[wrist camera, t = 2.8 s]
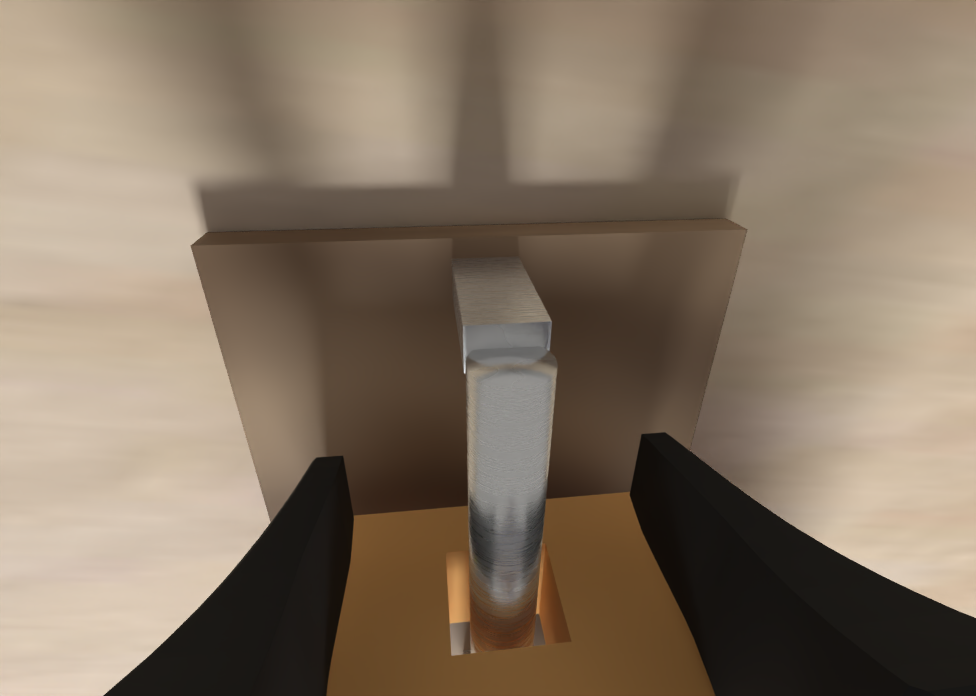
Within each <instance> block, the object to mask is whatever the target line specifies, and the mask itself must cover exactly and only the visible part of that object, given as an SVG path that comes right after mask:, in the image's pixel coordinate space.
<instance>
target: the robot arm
mask: <svg viewBox="0 0 976 696" xmlns="http://www.w3.org/2000/svg"><path fill="white" fill-rule="evenodd" d="M630 498H631V501H632V504H633V507H634V510H635V513H636V516H637V519H638V522H639V524H640V527H641V530H642V533H643V535H644V537H645V539H646V541H647V543H648V545H649V547H650V549H651V552H652V554H653V556H654V558H655V560H656V562H657V564H658V566H659V568H660V570H661V572H662V574H663V576H664V578H665V580H666V582H667V584H668V586H669V588H670V590H671V592H672V594H673V596H674V598H675V600H676V602H677V604H678V606H679V608H680V610H681V612H682V614H683V616H684V618H685V620H686V622H687V625H688V627H689V629H690V631H691V634H692V636H693V638H694V640H695V643H696V646H697V648H698V651H699V653H700V656H701V659H702V661H703V664H704V666H705V669H706V672H707V674H708V677H709V679H710V682H711V685H712V688H713V690H714V693H715V696H976V618H974V617H972V616H969V615H967V614H964V613H961V612H959V611H957V610H954V609H952V608H950V607H947V606H945V605H943V604H941V603H939V602H936V601H934V600H932V599H930V598H927V597H925V596H923V595H921V594H919V593H916V592H914V591H912V590H910V589H908V588H906V587H904V586H902V585H899V584H897V583H895V582H893V581H891V580H889V579H887V578H885V577H883V576H881V575H879V574H877V573H875V572H873V571H871V570H870V569H868V568H866V567H864V566H862V565H860V564H858V563H856V562H854V561H852V560H850V559H848V558H847V557H845V556H843V555H841V554H839V553H838V552H836V551H834V550H832V549H830V548H829V547H827V546H825V545H824V544H822V543H820V542H819V541H817V540H815V539H814V538H812V537H810V536H809V535H807V534H805V533H804V532H802V531H800V530H799V529H797V528H795V527H794V526H792V525H791V524H789V523H788V522H786V521H784V520H783V519H781V518H780V517H778V516H777V515H776V514H774V513H773V512H771V511H770V510H768V509H767V508H765V507H764V506H762V505H761V504H759V503H758V502H757V501H755V500H754V499H752V498H751V497H750V496H748V495H747V494H745V493H744V492H743V491H741V490H740V489H739V488H737V487H736V486H734V485H733V484H732V483H730V482H729V481H728V480H727V479H725V478H724V477H723V476H721V475H720V474H719V473H717V472H716V471H715V470H713V469H712V468H711V467H710V466H708V465H707V464H706V463H704V462H703V461H702V460H701V459H699V458H698V457H697V456H696V455H694V454H693V453H692V452H690V451H689V450H688V449H687V448H685V447H684V446H683V445H682V444H680V443H679V442H678V441H676V440H675V439H674V438H672V437H671V436H670V435H668V434H667V433H666V432H661V433H647V434H641V439H640V444H639V449H638V454H637V459H636V464H635V469H634V474H633V479H632V484H631V490H630ZM353 526H354V515H353V509H352V503H351V497H350V492H349V486H348V480H347V474H346V468H345V463H344V457H343V456H329V457H316V458H315V459H314V460H313V461H312V463H311V464H310V466H309V467H308V469H307V471H306V472H305V474H304V475H303V477H302V478H301V480H300V481H299V483H298V485H297V486H296V488H295V489H294V491H293V492H292V493H291V495H290V496H289V498H288V499H287V501H286V502H285V504H284V505H283V506H282V508H281V509H280V511H279V512H278V513H277V515H276V516H275V517H274V519H273V520H272V522H271V523H270V524H269V526H268V527H267V528H266V530H265V531H264V532H263V534H262V535H261V536H260V538H259V539H258V540H257V541H256V542H255V544H254V545H253V546H252V547H251V549H250V550H249V551H248V552H247V554H246V555H245V556H244V557H243V559H242V560H241V561H240V562H239V564H238V565H237V566H236V567H235V568H234V569H233V571H232V572H231V573H230V574H229V575H228V576H227V578H226V579H225V580H224V581H223V582H222V583H221V584H220V585H219V587H218V588H217V589H216V590H215V591H214V592H213V593H212V594H211V595H210V596H209V597H208V598H207V599H206V601H205V602H204V603H203V604H202V605H201V606H200V607H199V608H198V609H197V610H196V611H195V612H194V613H193V614H192V615H191V616H190V617H189V618H188V619H187V620H186V621H185V622H184V623H183V624H182V625H181V626H180V627H179V628H178V629H177V630H176V631H175V632H174V633H173V634H172V635H171V636H170V637H169V638H168V639H167V640H166V641H165V642H163V643H162V644H161V645H160V646H159V647H158V648H157V649H156V650H155V651H154V652H153V653H152V654H151V655H150V656H148V657H147V658H146V659H145V660H144V661H143V662H142V663H140V664H139V665H138V666H137V667H136V668H135V669H134V670H132V671H131V672H130V673H129V674H128V675H127V676H125V677H124V678H123V679H122V680H121V681H120V682H119V683H117V684H116V685H115V686H114V687H113V688H112V689H111V690H109V691H108V692H107V693H106V694H105V695H104V696H326V695H327V685H328V678H329V671H330V665H331V659H332V654H333V649H334V644H335V639H336V634H337V628H338V623H339V618H340V613H341V608H342V603H343V598H344V593H345V588H346V583H347V578H348V572H349V567H350V562H351V551H352V540H353Z"/></svg>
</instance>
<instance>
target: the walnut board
mask: <svg viewBox="0 0 976 696" xmlns="http://www.w3.org/2000/svg"><path fill="white" fill-rule="evenodd" d="M746 233H747V229H745V228H743V227H741V226H739V225H737V224H735V223H734V222H732V221H730V220H728V219H695V220H658V221H620V222H583V223H545V224H508V225H470V226H433V227H395V228H358V229H320V230H282V231H245V232H207V233H206V234H205V235H203V236H202V237H201V238H200V239H198V240H197V241H196V242H195V243H194V244H192V245H191V249H192V252H193V255H194V259H195V262H196V266H197V269H198V273H199V276H200V280H201V283H202V287H203V290H204V293H205V297H206V300H207V304H208V307H209V311H210V314H211V318H212V321H213V324H214V328H215V331H216V335H217V338H218V342H219V345H220V349H221V352H222V356H223V359H224V362H225V366H226V369H227V373H228V376H229V380H230V383H231V387H232V390H233V394H234V397H235V400H236V404H237V407H238V411H239V414H240V418H241V421H242V425H243V428H244V431H245V435H246V438H247V442H248V445H249V449H250V452H251V456H252V459H253V463H254V466H255V469H256V473H257V476H258V480H259V483H260V487H261V490H262V494H263V497H264V500H265V504H266V507H267V511H268V514H269V518H270V521H271V522H272V520H273V519H274V517H275V516H276V515H277V513H278V512H279V511H280V509H281V508H282V506H283V505H284V504H285V502H286V501H287V499H288V498H289V496H290V495H291V493H292V492H293V491H294V489H295V488H296V486H297V485H298V483H299V481H300V480H301V478H302V477H303V475H304V474H305V472H306V471H307V469H308V467H309V466H310V464H311V463H312V461H313V460H314V459H315V458H316V457H329V456H343V457H344V463H345V468H346V474H347V480H348V486H349V492H350V497H351V503H352V509H353V515H354V516H355V515H367V514H378V513H390V512H402V511H413V510H425V509H437V508H448V507H460V506H468V474H467V416H466V374H464V371H463V364H462V357H461V351H460V344H459V337H458V330H457V323H456V316H455V310H454V303H453V288H452V259H464V258H493V257H519V259H520V260H521V262H522V264H523V266H524V268H525V270H526V272H527V274H528V276H529V278H530V280H531V282H532V284H533V286H534V288H535V290H536V292H537V294H538V295H539V297H540V299H541V301H542V303H543V305H544V307H545V309H546V311H547V313H548V315H549V317H550V319H551V321H552V326H551V339H550V352H551V353H552V354H553V355H554V356H555V358H556V360H557V364H558V367H557V379H556V390H555V402H554V413H553V425H552V436H551V448H550V459H549V471H548V482H547V494H546V499H553V498H565V497H576V496H588V495H599V494H611V493H623V492H630V490H631V484H632V479H633V474H634V469H635V464H636V459H637V454H638V449H639V444H640V439H641V434H647V433H661V432H666V433H667V434H668V435H670V436H671V437H672V438H674V439H675V440H676V441H678V442H679V443H680V444H682V445H683V446H684V447H685V448H687V449H688V450H690V447H691V443H692V439H693V435H694V431H695V428H696V424H697V420H698V416H699V412H700V408H701V405H702V401H703V397H704V393H705V389H706V386H707V382H708V378H709V374H710V370H711V366H712V363H713V359H714V355H715V351H716V347H717V344H718V340H719V336H720V332H721V328H722V324H723V321H724V317H725V313H726V309H727V305H728V301H729V298H730V294H731V290H732V286H733V282H734V279H735V275H736V271H737V267H738V263H739V259H740V256H741V252H742V248H743V244H744V240H745V237H746ZM450 639H451V656H454V655H463V651H465V650H471V647H470V621H468V622H459V623H450ZM539 645H546V643H545V639H544V634H543V629H542V625H541V620H540V616H539V614H536V620H535V632H534V643H533V646H539Z"/></svg>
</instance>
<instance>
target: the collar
mask: <svg viewBox="0 0 976 696" xmlns="http://www.w3.org/2000/svg"><path fill="white" fill-rule="evenodd" d="M536 614H539V616H540V620H541V625H542V629H543V634H544V639H545V643H546V645H539V646H531V647H522V648H514V649H505V650H497V651H488V652H480V653H471V654H463V655H454V656H451V639H450V623H459V622H468V621H470V589H469V532H468V506H460V507H448V508H437V509H425V510H413V511H402V512H390V513H378V514H367V515H355V516H354V526H353V540H352V551H351V562H350V567H349V572H348V578H347V583H346V588H345V593H344V598H343V603H342V608H341V613H340V618H339V623H338V628H337V634H336V639H335V644H334V649H333V654H332V659H331V665H330V671H329V678H328V685H327V695H326V696H715V693H714V690H713V688H712V685H711V682H710V679H709V677H708V674H707V672H706V669H705V666H704V664H703V661H702V659H701V656H700V653H699V651H698V648H697V646H696V643H695V640H694V638H693V636H692V634H691V631H690V629H689V627H688V625H687V622H686V620H685V618H684V616H683V614H682V612H681V610H680V608H679V606H678V604H677V602H676V600H675V598H674V596H673V594H672V592H671V590H670V588H669V586H668V584H667V582H666V580H665V578H664V576H663V574H662V572H661V570H660V568H659V566H658V564H657V562H656V560H655V558H654V556H653V554H652V552H651V549H650V547H649V545H648V543H647V541H646V539H645V537H644V535H643V533H642V530H641V527H640V524H639V522H638V519H637V516H636V513H635V510H634V507H633V504H632V501H631V498H630V492H623V493H611V494H599V495H588V496H576V497H565V498H553V499H546V505H545V517H544V528H543V540H542V551H541V563H540V574H539V586H538V597H537V609H536Z"/></svg>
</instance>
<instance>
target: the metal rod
mask: <svg viewBox="0 0 976 696" xmlns="http://www.w3.org/2000/svg"><path fill="white" fill-rule="evenodd" d="M452 288H453V303H454V310H455V316H456V323H457V330H458V337H459V344H460V351H461V357H462V364H463V371H464V374H466V416H467V474H468V532H469V589H470V647H471V650H465V651H463V654H471V653H480V652H488V651H497V650H505V649H514V648H522V647H531V646H533V643H534V632H535V620H536V609H537V597H538V586H539V574H540V563H541V551H542V540H543V528H544V517H545V505H546V494H547V482H548V471H549V459H550V448H551V436H552V425H553V413H554V402H555V390H556V379H557V367H558V364H557V360H556V358H555V356H554V355H553V354H552V353H551V352H550V339H551V326H552V321H551V319H550V317H549V315H548V313H547V311H546V309H545V307H544V305H543V303H542V301H541V299H540V297H539V295H538V294H537V292H536V290H535V288H534V286H533V284H532V282H531V280H530V278H529V276H528V274H527V272H526V270H525V268H524V266H523V264H522V262H521V260H520V259H519V257H493V258H464V259H452Z"/></svg>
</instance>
